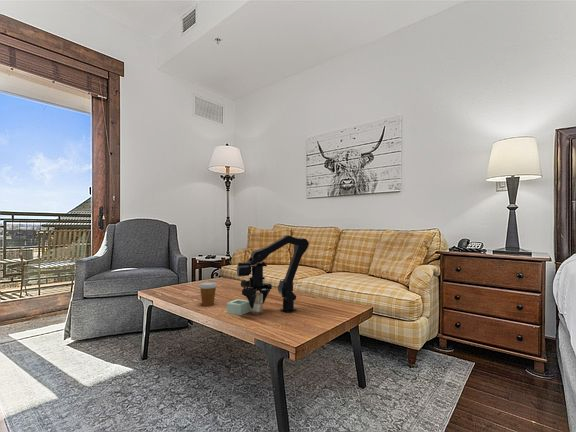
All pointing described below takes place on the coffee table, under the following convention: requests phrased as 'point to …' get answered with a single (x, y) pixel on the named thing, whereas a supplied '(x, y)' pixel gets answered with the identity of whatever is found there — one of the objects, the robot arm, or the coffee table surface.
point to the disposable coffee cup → (208, 293)
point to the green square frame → (238, 307)
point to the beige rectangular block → (258, 304)
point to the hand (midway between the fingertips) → (257, 305)
